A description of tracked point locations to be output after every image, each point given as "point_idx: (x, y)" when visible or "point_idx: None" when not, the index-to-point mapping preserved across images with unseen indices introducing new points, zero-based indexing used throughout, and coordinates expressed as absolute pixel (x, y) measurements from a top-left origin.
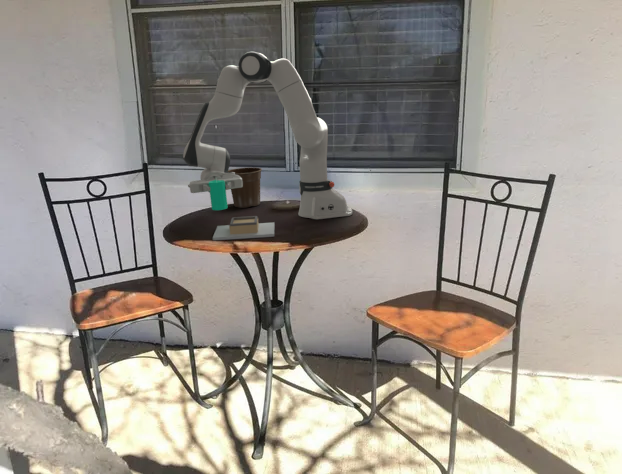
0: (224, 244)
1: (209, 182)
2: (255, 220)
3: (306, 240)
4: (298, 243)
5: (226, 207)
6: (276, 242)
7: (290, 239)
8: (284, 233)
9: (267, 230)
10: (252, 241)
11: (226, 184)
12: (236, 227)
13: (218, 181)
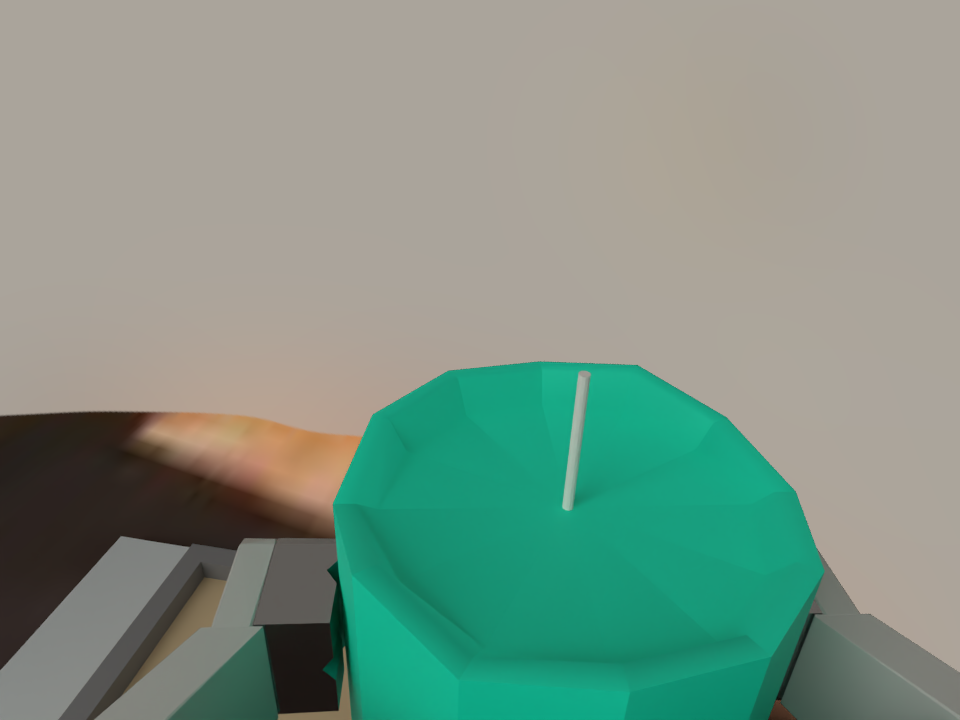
0: None
1: (780, 505)
2: (159, 603)
3: (28, 436)
4: (104, 415)
5: None
6: (193, 458)
7: (85, 474)
8: (4, 592)
9: (98, 633)
10: (314, 516)
11: (308, 551)
12: None
13: (514, 605)
